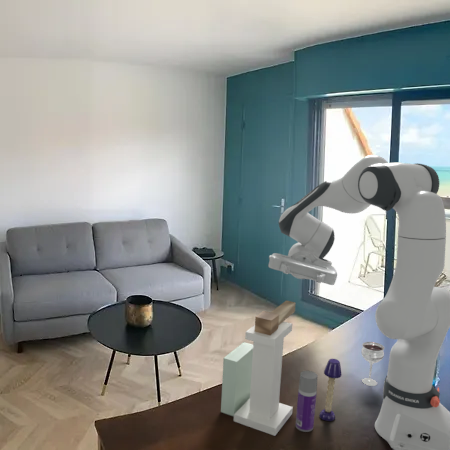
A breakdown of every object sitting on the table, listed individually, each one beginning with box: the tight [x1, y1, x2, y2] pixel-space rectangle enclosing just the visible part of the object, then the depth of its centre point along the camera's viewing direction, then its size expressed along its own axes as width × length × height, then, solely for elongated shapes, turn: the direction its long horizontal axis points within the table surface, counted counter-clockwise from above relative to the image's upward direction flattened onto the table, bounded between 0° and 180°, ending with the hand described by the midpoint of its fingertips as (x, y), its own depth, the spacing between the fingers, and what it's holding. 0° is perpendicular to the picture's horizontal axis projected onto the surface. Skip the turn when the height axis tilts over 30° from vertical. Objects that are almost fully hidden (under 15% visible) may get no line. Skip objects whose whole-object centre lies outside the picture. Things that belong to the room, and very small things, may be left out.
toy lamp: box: [318, 358, 343, 422], centre depth 141 cm, size 5×5×17 cm
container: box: [295, 370, 318, 433], centre depth 136 cm, size 5×5×15 cm
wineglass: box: [361, 341, 385, 387], centre depth 161 cm, size 7×7×12 cm
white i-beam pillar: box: [233, 320, 294, 436], centre depth 138 cm, size 12×12×26 cm
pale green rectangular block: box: [220, 341, 253, 417], centre depth 145 cm, size 4×12×16 cm, turn 152°
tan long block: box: [254, 300, 296, 335], centre depth 139 cm, size 4×19×4 cm, turn 152°
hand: (302, 275), depth 147 cm, fingers open, 8 cm apart
